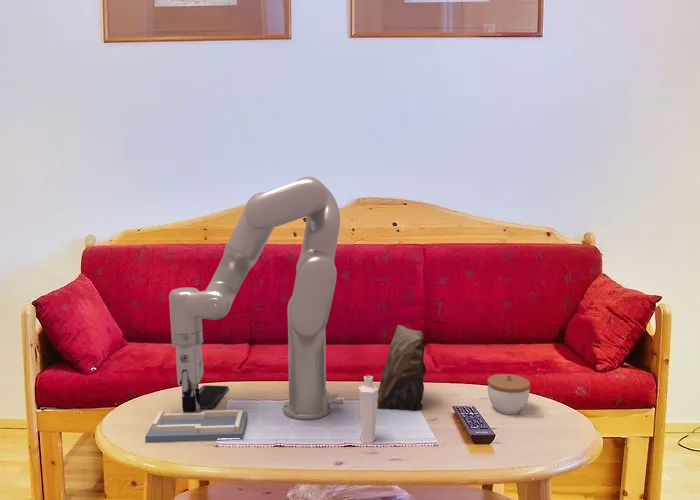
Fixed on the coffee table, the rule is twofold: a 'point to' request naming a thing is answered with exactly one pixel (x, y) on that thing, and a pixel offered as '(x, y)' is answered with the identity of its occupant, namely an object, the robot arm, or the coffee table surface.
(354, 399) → the coffee table surface
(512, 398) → the lidded jar
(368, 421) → the perfume bottle
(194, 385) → the rook chess piece
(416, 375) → the brown rock
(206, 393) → the phone
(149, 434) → the keyhole board
